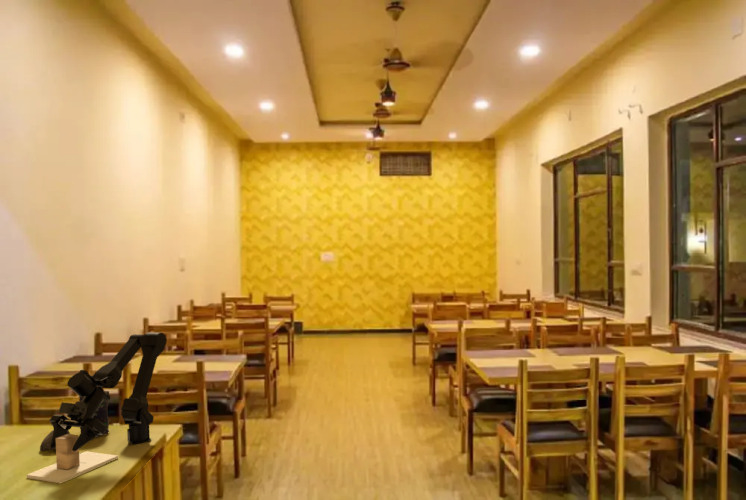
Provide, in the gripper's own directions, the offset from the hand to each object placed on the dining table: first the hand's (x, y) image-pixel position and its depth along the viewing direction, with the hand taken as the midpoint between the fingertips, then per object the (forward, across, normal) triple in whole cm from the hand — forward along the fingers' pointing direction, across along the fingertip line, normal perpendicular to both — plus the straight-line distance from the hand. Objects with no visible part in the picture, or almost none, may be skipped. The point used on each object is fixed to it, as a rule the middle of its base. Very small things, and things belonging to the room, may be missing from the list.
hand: (62, 449), depth 189 cm
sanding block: (+3, 0, +6) cm, 6 cm away
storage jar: (-19, -23, +29) cm, 42 cm away
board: (+2, 0, +8) cm, 8 cm away
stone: (-7, -23, +17) cm, 29 cm away
